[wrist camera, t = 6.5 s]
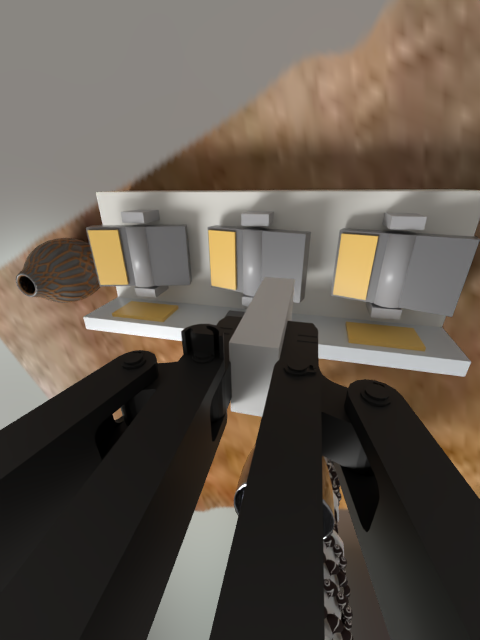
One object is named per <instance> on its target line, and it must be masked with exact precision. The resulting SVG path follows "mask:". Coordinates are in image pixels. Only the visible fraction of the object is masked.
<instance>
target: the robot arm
mask: <svg viewBox="0 0 480 640" xmlns="http://www.w3.org/2000/svg"><path fill="white" fill-rule="evenodd" d="M294 283H295V279H287V278H271V277H264V279H263V281H262V283H261V285H260V286H259V288H258V290H257V292H256V294H255V296H254V297H253V299H252V301H251V303H250V305H249V307H248V308H247V310H246V312H245V314H244V316H243V317H235V316H226V317H225V318H223V319H221V320H220V321H219V322H218V323H217V325H212V324H196V325H192V326H189V327H186V328H185V329H183V330H182V331H181V336H182V345H183V353H184V355H183V356H182V357H181V358H180V360H179V361H178V362H171V363H157V359H156V356H155V354H153V353H151V352H149V351H143V350H138V351H132V352H128V353H125V354H123V355H121V356H119V357H117V358H116V359H114V360H112V361H111V362H109V363H108V364H106V365H104V366H103V367H101V368H100V369H98V370H96V371H95V372H93V373H91V374H90V375H88V376H87V377H85V378H83V379H82V380H80V381H79V382H77V383H75V384H74V385H72V386H71V387H69V388H67V389H66V390H64V391H63V392H61V393H59V394H58V395H56V396H54V397H53V398H51V399H50V400H48V401H46V402H45V403H43V404H42V405H40V406H38V407H37V408H35V409H34V410H32V411H30V412H29V413H28V414H25V415H24V416H22V417H21V418H19V419H17V420H16V421H14V422H13V423H11V424H9V425H8V426H6V427H5V428H3V429H2V430H0V640H146V639H147V637H148V634H149V631H150V629H151V626H152V623H153V621H154V618H155V615H156V612H157V610H158V607H159V604H160V602H161V599H162V596H163V593H164V591H165V588H166V585H167V583H168V580H169V577H170V574H171V572H172V569H173V566H174V564H175V561H176V558H177V556H178V553H179V550H180V547H181V545H182V542H183V539H184V537H185V534H186V531H187V529H188V526H189V523H190V521H191V518H192V515H193V513H194V510H195V507H196V504H197V502H198V499H199V496H200V494H201V491H202V488H203V486H204V483H205V480H206V477H207V475H208V472H209V469H210V467H211V464H212V461H213V459H214V456H215V453H216V450H217V448H218V445H219V442H220V440H221V437H222V434H223V432H224V429H225V426H226V423H227V408H228V405H229V403H230V400H231V411H233V412H238V413H244V414H250V415H255V416H261V417H262V419H261V423H260V428H259V432H258V436H257V440H256V445H255V449H254V453H253V457H252V461H251V466H250V470H249V474H248V478H247V482H246V487H245V491H244V495H243V499H242V504H241V508H240V512H239V516H238V521H237V525H236V529H235V533H234V537H233V542H232V546H231V550H230V554H229V558H228V563H227V567H226V571H225V575H224V579H223V584H222V588H221V592H220V597H219V600H218V605H217V609H216V613H215V617H214V621H213V626H212V630H211V635H210V638H209V640H325V623H324V555H323V488H322V456H324V457H326V458H328V459H330V460H332V461H334V467H335V470H336V473H337V476H338V480H339V483H340V486H341V489H342V492H343V495H344V498H345V501H346V504H347V507H348V510H349V513H350V516H351V519H352V522H353V525H354V529H355V532H356V535H357V538H358V541H359V544H360V547H361V550H362V553H363V556H364V559H365V562H366V565H367V568H368V572H369V575H370V578H371V581H372V584H373V587H374V590H375V593H376V596H377V599H378V602H379V605H380V608H381V611H382V614H383V617H384V620H385V624H386V627H387V630H388V633H389V636H390V639H391V640H480V499H479V498H478V496H477V495H476V494H475V492H474V491H473V490H472V488H471V487H470V486H469V484H468V483H467V482H466V480H465V479H464V478H463V476H462V475H461V474H460V472H459V471H458V470H457V468H456V467H455V466H454V464H453V463H452V462H451V460H450V459H449V458H448V456H447V455H446V454H445V452H444V451H443V450H442V448H441V447H440V446H439V444H438V443H437V442H436V440H435V439H434V438H433V436H432V435H431V434H430V432H429V431H428V430H427V428H426V427H425V426H424V424H423V423H422V422H421V420H420V419H419V418H418V416H417V415H416V414H415V412H414V411H413V410H412V408H411V407H410V406H409V404H408V403H407V402H406V400H405V399H404V398H403V396H402V395H401V394H400V393H398V392H397V391H396V390H395V389H394V388H392V387H390V386H388V385H387V384H384V383H381V382H378V381H375V380H366V379H364V380H357V381H355V382H353V383H351V384H350V386H349V388H347V387H344V386H341V385H338V384H336V383H334V382H332V381H330V380H328V379H327V378H326V377H325V376H323V375H322V373H321V371H320V369H319V366H318V329H317V328H316V326H315V325H314V324H313V323H306V322H296V321H292V308H293V296H294ZM120 407H121V411H122V414H123V416H122V417H120V418H119V419H117V420H114V418H113V415H112V414H113V413H114V412H116V411H117V410H118V409H119V408H120Z"/></svg>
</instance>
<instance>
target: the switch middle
mask: <svg viewBox="0 0 480 640" xmlns="http://www.w3.org/2000/svg"><path fill="white" fill-rule="evenodd" d="M310 238H311V232H308V231H294V230H279V229H269V228H262V227H236V226H221V225H214V226H210V227H208V244H209V261H210V278H211V287H215V288H220V289H225V290H231V291H236V292H241V293H244V294H245V295H247V296H253V297H254V296H255V294H256V292H257V290H258V288H259V286H260V285H261V283H262V281H263V279H264V277H271V278H287V279H295V283H294V296H293V302H295V303H300V302H301V301H302V300H303V299H304V298H305V288H306V278H307V268H308V258H309V248H310Z"/></svg>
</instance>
